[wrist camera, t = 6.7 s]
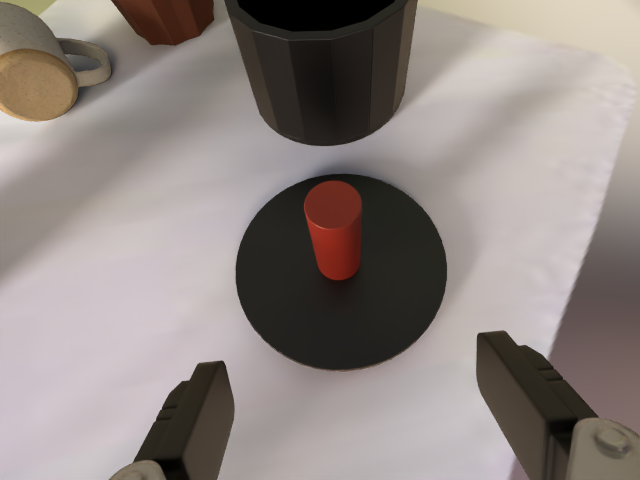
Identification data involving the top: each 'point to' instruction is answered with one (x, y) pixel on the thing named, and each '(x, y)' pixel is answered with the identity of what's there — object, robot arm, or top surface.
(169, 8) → the muffin
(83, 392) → the top surface
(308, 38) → the pot
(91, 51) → the ceramic mug
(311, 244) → the lid
